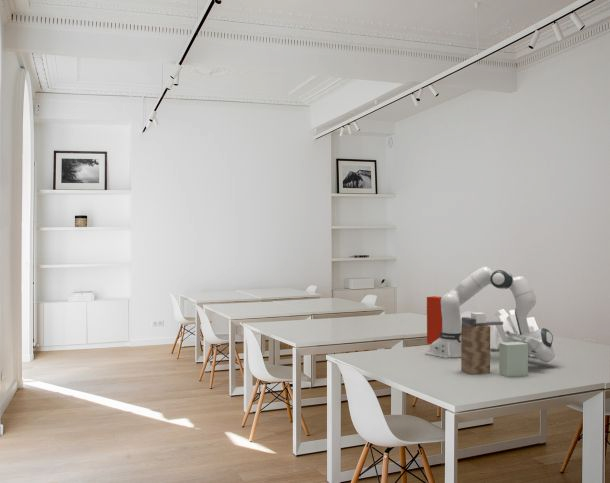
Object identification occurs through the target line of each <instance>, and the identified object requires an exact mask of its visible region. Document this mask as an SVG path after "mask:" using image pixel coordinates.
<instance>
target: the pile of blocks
mask: <svg viewBox="0 0 610 483" xmlns="http://www.w3.org/2000/svg"><path fill="white" fill-rule="evenodd" d="M494 315H495V316H496V318H498V321H502V322H503V325H488V326H490V351H496V350H499V336H500V338H501V340H502V343H506V342H513V341H512V340H510V339H508V338H507V337H506V336H507V334H506V333H505V331H506V330H507V331H509V332H512V333H518V334H520V332H519V328H518V324H517V320H516V316H515V309H510V310H509V311H508V312H507V311H506V310H505V309H504V308H502V309H499V310H497V311H496V313H495V314H494ZM536 321H537V320H536V319H535V317H534V316H531V317H529V316H528V317H527V323H528V327H529V331H530V332H534V331H536V330H539V326H538V324H537V322H536ZM529 356H530V358H535V357H534V355H531V354H529Z"/></svg>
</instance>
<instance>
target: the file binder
mask: <svg viewBox="0 0 610 483" xmlns="http://www.w3.org/2000/svg"><path fill="white" fill-rule="evenodd" d="M441 298H442V296H436V295H432V296H426V344H428V345H431V344H432V343H433V342H434V341H436V340H437V339H438V338H440V335H439V333H441V332H442V312H441Z"/></svg>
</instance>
